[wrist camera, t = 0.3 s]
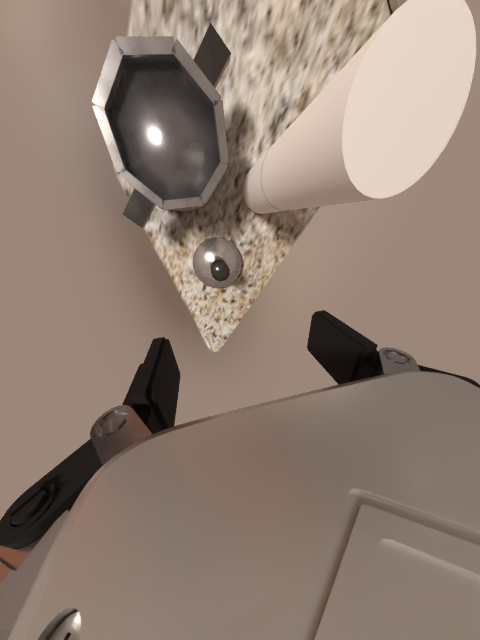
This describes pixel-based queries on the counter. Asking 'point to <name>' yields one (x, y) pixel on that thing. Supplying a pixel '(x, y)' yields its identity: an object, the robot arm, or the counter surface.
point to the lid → (217, 262)
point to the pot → (164, 121)
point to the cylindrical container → (375, 115)
